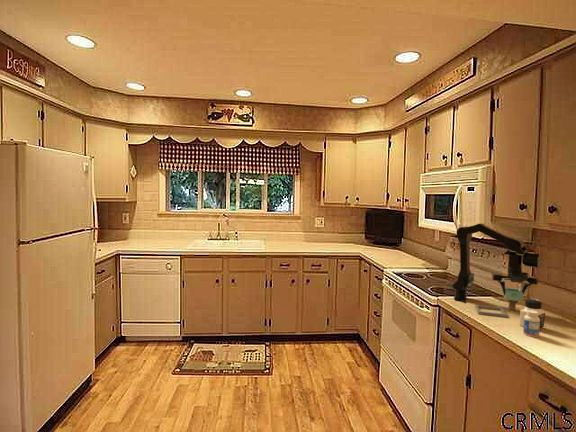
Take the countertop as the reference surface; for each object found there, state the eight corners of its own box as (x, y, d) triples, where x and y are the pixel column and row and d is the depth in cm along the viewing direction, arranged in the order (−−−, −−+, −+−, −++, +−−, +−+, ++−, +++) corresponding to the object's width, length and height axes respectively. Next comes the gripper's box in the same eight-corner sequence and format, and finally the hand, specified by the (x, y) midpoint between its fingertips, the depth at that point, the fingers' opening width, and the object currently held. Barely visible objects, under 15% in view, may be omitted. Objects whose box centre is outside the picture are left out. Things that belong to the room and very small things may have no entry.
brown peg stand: (501, 307, 189) (501, 297, 189) (519, 309, 187) (519, 299, 187) (504, 312, 182) (505, 301, 182) (523, 314, 179) (524, 303, 179)
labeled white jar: (537, 331, 158) (539, 303, 157) (519, 325, 163) (520, 299, 163) (544, 327, 162) (546, 300, 161) (526, 322, 168) (527, 296, 167)
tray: (474, 308, 187) (474, 304, 187) (501, 311, 183) (501, 307, 183) (478, 315, 176) (478, 311, 176) (507, 319, 172) (507, 315, 172)
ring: (503, 295, 188) (503, 287, 188) (519, 296, 186) (520, 289, 186) (506, 299, 180) (506, 291, 180) (523, 301, 178) (523, 293, 178)
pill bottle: (522, 331, 157) (523, 308, 156) (537, 333, 155) (538, 310, 154) (524, 335, 152) (526, 312, 151) (540, 338, 150) (541, 314, 149)
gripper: (495, 265, 179) (493, 297, 180) (541, 269, 172) (539, 302, 173) (492, 261, 189) (490, 292, 190) (535, 265, 182) (533, 296, 183)
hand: (512, 295), depth 184 cm, fingers closed on ring, 7 cm apart
